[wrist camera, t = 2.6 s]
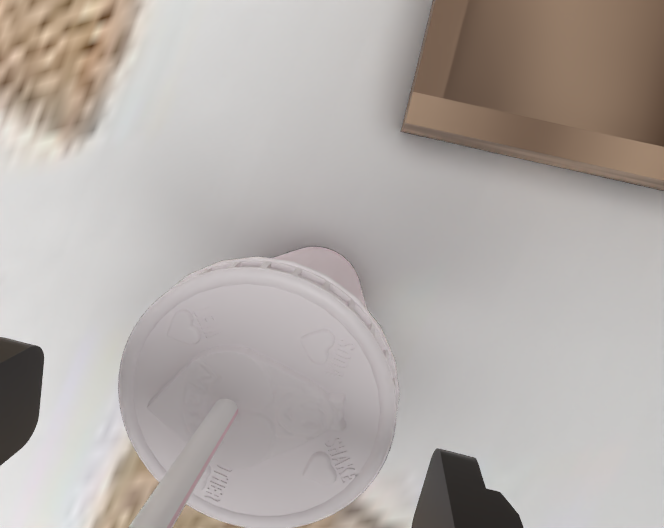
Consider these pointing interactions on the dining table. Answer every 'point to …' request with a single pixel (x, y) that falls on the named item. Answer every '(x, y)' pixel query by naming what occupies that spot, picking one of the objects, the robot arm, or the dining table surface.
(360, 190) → the dining table surface
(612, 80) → the bottle caddy
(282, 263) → the smoothie
